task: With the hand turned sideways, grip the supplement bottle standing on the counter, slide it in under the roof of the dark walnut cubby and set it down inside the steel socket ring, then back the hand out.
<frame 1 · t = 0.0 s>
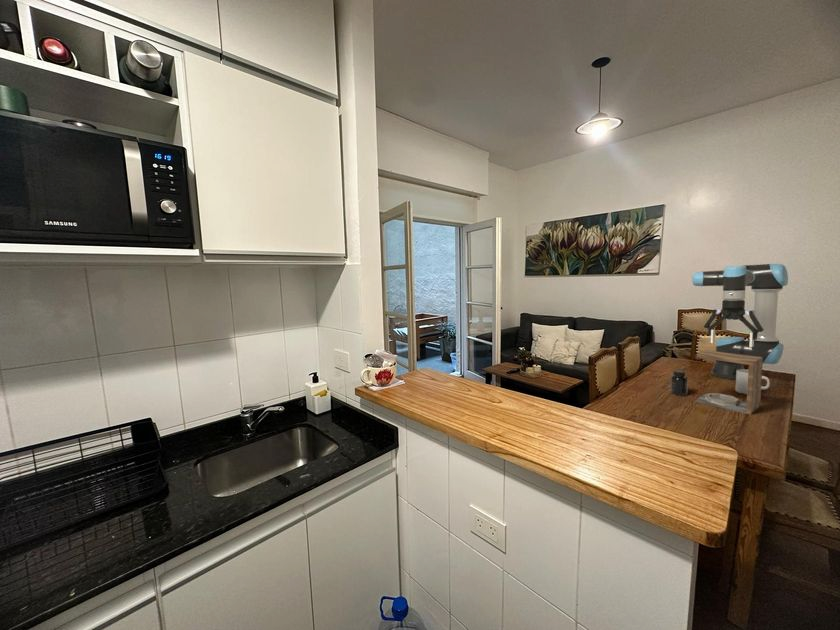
hand: (731, 344, 153), 28 cm above the table, tool pointing down, fingers open, 13 cm apart
awning stand: (721, 403, 154), on the table
supplement bottle: (678, 394, 169), on the table
mug: (751, 393, 165), on the table
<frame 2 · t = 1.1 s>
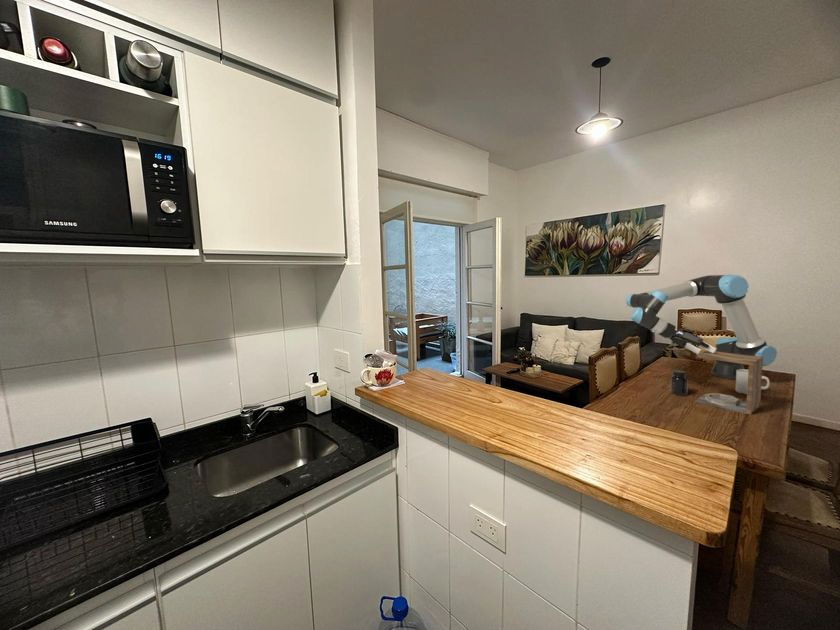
hand: (706, 351, 161), 23 cm above the table, tool tilted 60°, fingers open, 13 cm apart
nothing on the table moved.
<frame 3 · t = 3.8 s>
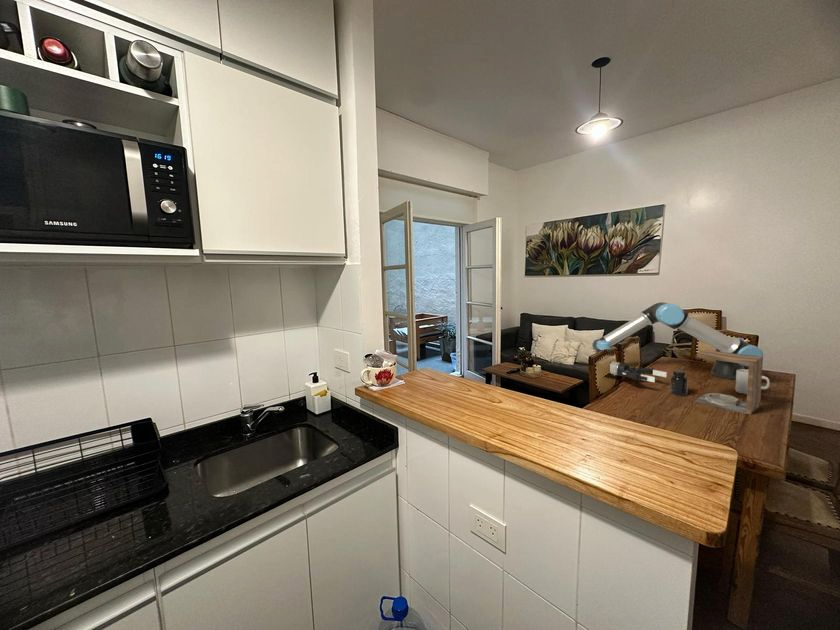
hand: (660, 377, 175), 7 cm above the table, tool horizontal, fingers open, 13 cm apart
nothing on the table moved.
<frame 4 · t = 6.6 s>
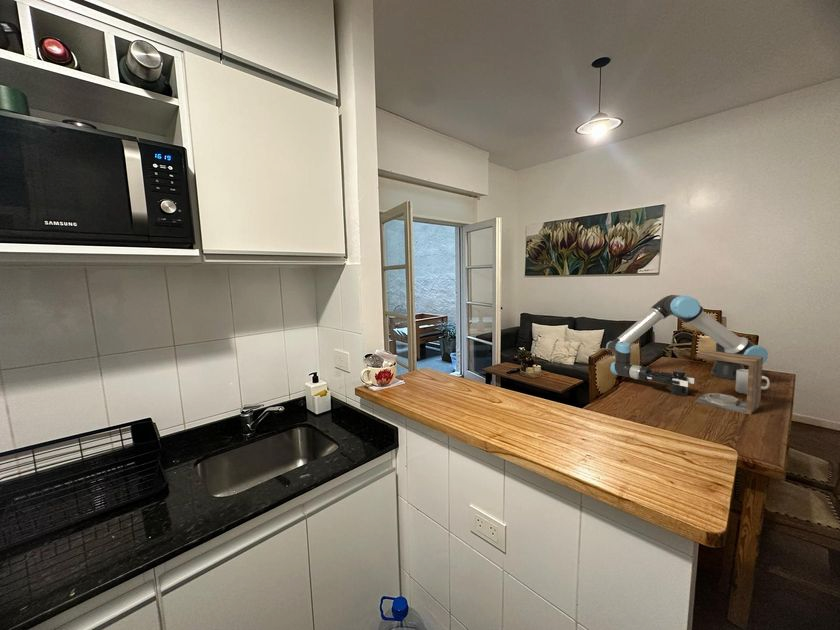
hand: (691, 382, 164), 7 cm above the table, tool horizontal, fingers closed on supplement bottle, 7 cm apart
supplement bottle: (678, 394, 169), on the table, touching gripper
everything else where it was.
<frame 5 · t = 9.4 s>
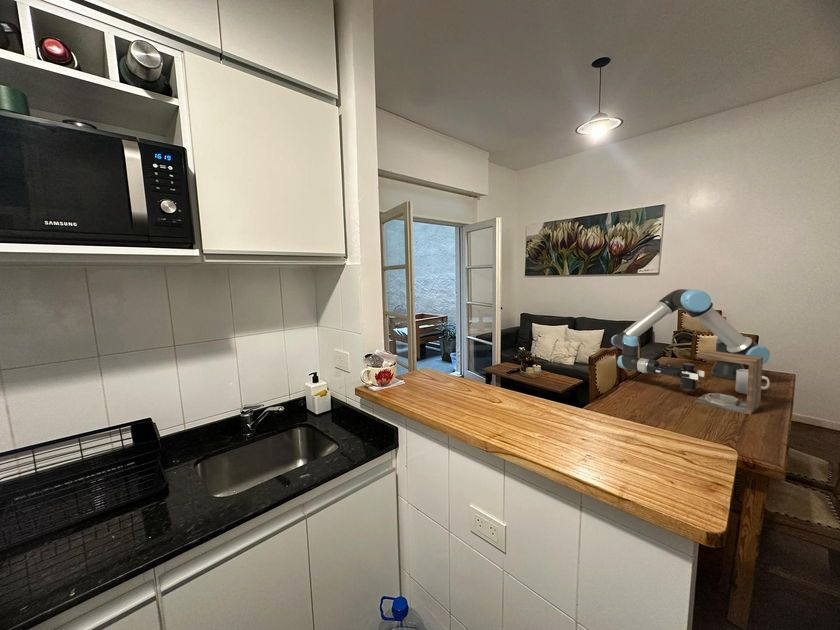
hand: (701, 375, 160), 12 cm above the table, tool horizontal, fingers closed on supplement bottle, 7 cm apart
supplement bottle: (688, 387, 165), point 4 cm above the table, touching gripper
everything else where it was.
when the fingers open (10 cm above the table, at t = 12.5 s): supplement bottle drops 1 cm, resting on awning stand.
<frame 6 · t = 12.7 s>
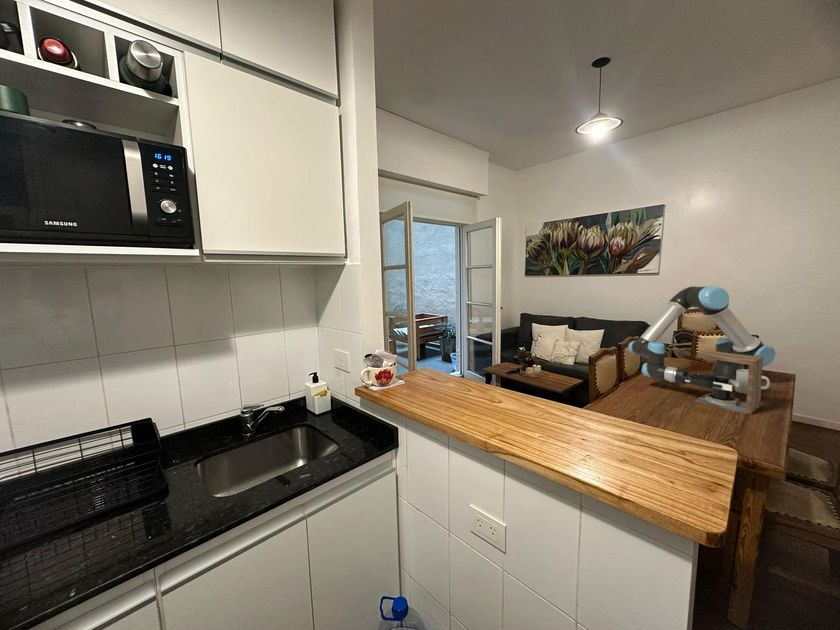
hand: (735, 386, 150), 10 cm above the table, tool horizontal, fingers open, 9 cm apart
supplement bottle: (721, 401, 154), point 1 cm above the table, touching awning stand
everything else where it was.
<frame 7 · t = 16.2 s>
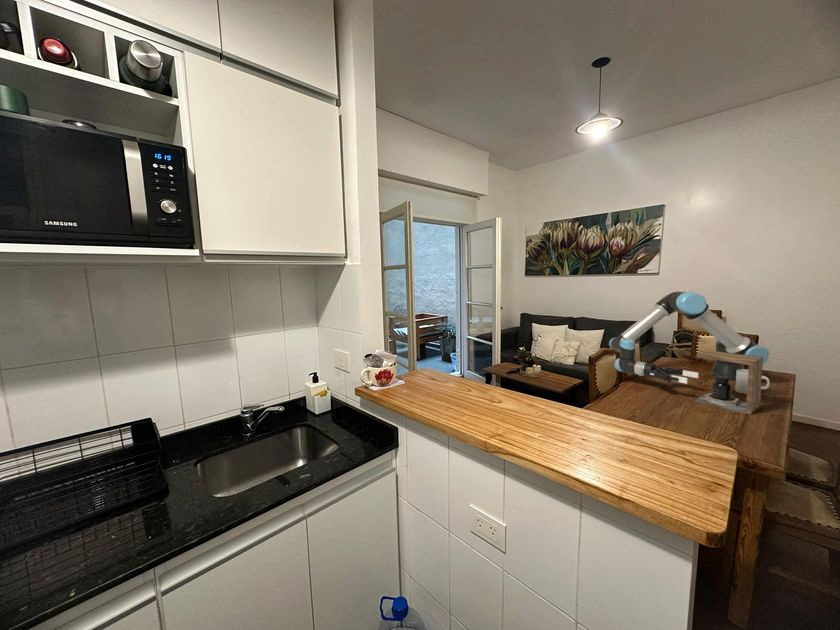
hand: (693, 378, 163), 10 cm above the table, tool horizontal, fingers open, 13 cm apart
nothing on the table moved.
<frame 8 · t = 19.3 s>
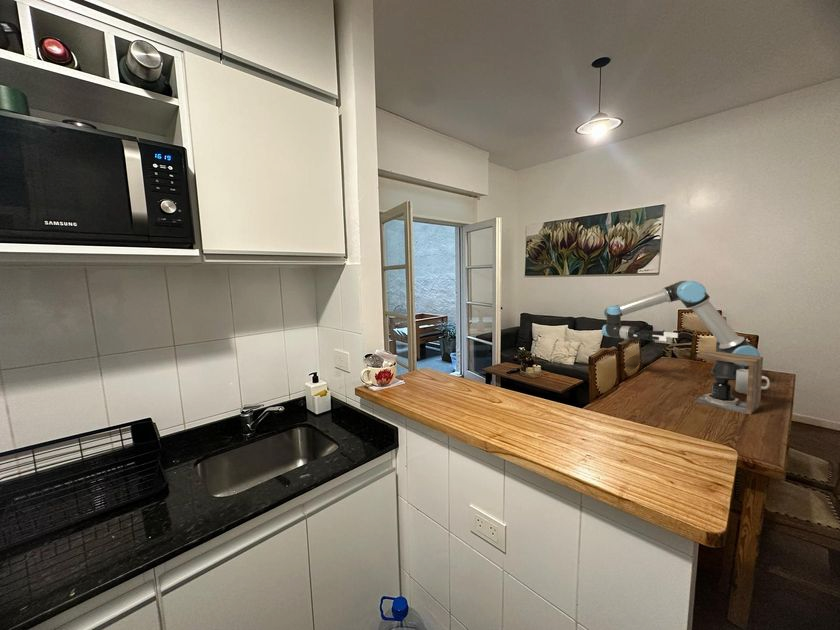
hand: (672, 337, 176), 28 cm above the table, tool horizontal, fingers open, 13 cm apart
nothing on the table moved.
at the end: supplement bottle 0.3 cm off-centre on the awning stand, point 0.8 cm above the awning stand's base; supplement bottle tilted 0°; the gripper is holding nothing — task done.
